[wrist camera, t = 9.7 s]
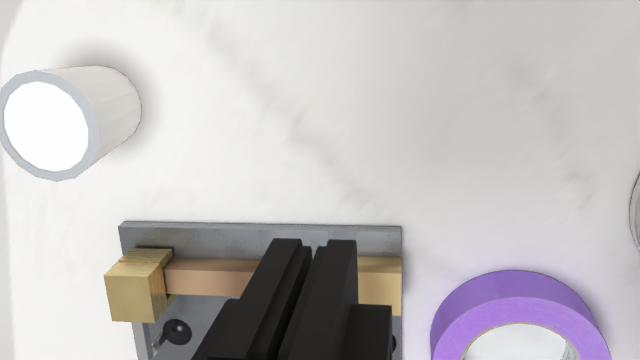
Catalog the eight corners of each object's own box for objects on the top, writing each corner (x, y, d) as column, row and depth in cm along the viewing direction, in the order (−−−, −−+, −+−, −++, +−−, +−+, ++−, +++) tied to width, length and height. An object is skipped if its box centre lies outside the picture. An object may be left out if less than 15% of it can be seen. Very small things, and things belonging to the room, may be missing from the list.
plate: (400, 226, 40) (400, 232, 39) (401, 390, 44) (400, 399, 43) (124, 221, 43) (117, 226, 42) (150, 374, 48) (145, 382, 47)
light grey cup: (137, 165, 41) (85, 199, 35) (52, 129, 42) (-16, 156, 35) (160, 78, 39) (109, 97, 32) (70, 41, 39) (1, 52, 33)
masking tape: (581, 412, 43) (596, 452, 39) (424, 395, 44) (425, 431, 41) (608, 275, 39) (628, 305, 35) (436, 262, 40) (438, 288, 37)
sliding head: (171, 248, 42) (147, 275, 38) (184, 338, 44) (162, 371, 40) (131, 247, 42) (103, 274, 38) (146, 336, 45) (121, 369, 41)
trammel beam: (402, 257, 39) (401, 273, 37) (402, 347, 42) (401, 368, 39) (121, 249, 43) (105, 264, 41) (136, 333, 45) (122, 351, 43)
